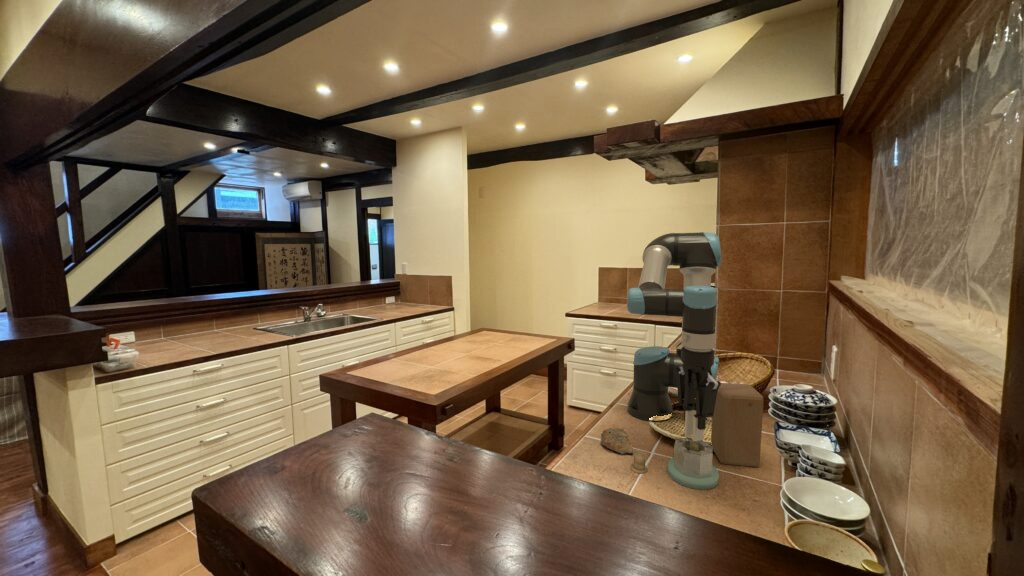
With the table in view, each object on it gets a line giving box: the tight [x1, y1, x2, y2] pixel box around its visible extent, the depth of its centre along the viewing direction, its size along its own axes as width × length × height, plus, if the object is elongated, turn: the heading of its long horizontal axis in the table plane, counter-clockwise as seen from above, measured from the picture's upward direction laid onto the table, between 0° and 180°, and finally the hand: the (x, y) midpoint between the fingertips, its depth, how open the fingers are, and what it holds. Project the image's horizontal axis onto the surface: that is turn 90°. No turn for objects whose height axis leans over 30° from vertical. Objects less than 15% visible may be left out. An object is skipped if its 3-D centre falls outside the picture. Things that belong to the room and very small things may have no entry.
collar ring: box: [673, 436, 714, 479], centre depth 102 cm, size 9×9×6 cm
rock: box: [600, 427, 635, 455], centre depth 117 cm, size 9×6×10 cm
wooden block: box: [710, 382, 764, 468], centre depth 110 cm, size 10×10×20 cm
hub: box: [667, 450, 720, 491], centre depth 102 cm, size 12×12×6 cm
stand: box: [630, 451, 649, 475], centre depth 106 cm, size 4×4×4 cm
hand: (693, 437), depth 101 cm, fingers open, 2 cm apart
